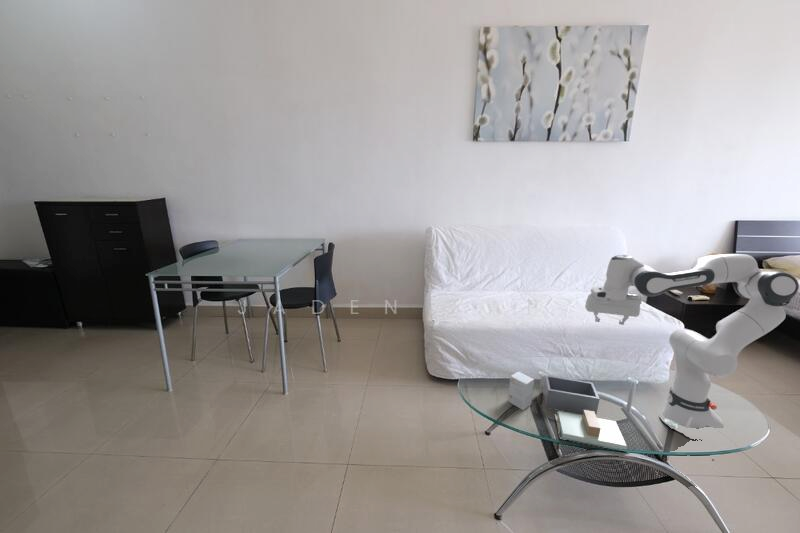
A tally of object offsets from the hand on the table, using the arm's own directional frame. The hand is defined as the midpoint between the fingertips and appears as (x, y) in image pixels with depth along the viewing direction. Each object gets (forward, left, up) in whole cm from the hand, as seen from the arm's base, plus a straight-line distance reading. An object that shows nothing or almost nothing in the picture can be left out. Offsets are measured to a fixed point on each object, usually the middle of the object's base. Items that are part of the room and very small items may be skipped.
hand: (609, 322), depth 154 cm
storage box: (+13, +10, -37) cm, 40 cm away
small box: (+34, +16, -37) cm, 53 cm away
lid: (+8, +27, -37) cm, 46 cm away
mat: (+8, +27, -37) cm, 46 cm away
